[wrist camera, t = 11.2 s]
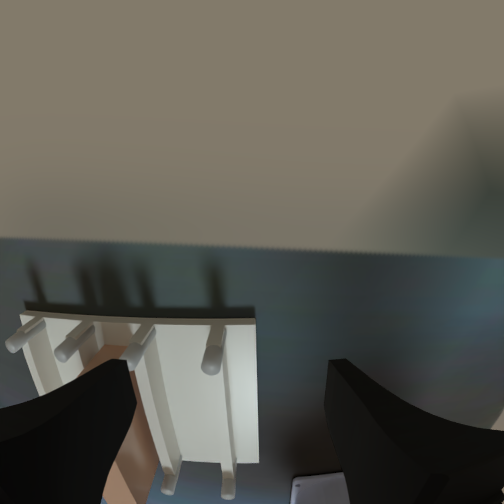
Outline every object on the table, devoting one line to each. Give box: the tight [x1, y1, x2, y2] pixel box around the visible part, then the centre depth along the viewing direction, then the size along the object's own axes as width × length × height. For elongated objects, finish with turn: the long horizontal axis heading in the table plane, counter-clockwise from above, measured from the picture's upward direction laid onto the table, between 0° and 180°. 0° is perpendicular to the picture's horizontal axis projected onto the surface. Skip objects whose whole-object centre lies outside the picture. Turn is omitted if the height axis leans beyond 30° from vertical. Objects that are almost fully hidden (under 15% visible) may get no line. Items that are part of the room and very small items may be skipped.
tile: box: [76, 344, 159, 504], centre depth 17 cm, size 10×2×7 cm, turn 2°
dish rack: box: [5, 310, 259, 500], centre depth 19 cm, size 13×18×5 cm
